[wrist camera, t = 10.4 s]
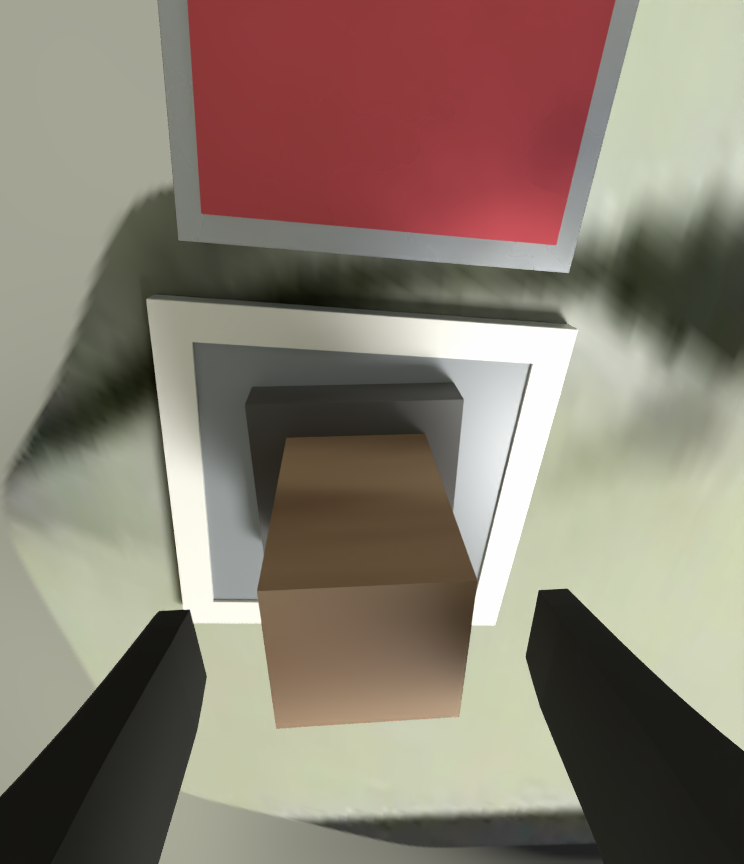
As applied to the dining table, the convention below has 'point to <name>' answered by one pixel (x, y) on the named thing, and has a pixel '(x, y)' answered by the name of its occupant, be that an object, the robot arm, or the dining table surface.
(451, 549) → the stamp
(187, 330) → the marked square
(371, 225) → the ink pad
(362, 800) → the dining table surface
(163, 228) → the dining table surface
